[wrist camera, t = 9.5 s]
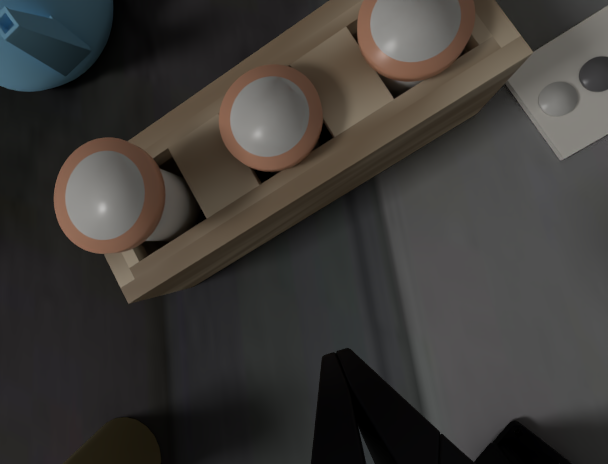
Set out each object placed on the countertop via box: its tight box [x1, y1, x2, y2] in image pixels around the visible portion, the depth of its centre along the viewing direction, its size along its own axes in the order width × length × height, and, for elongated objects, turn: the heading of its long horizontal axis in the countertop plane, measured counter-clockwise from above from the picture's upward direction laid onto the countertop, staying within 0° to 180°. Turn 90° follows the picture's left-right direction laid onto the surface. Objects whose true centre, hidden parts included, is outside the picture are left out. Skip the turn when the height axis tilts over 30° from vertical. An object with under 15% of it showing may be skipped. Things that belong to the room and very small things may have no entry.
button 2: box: [54, 138, 200, 254], centre depth 17 cm, size 5×5×5 cm
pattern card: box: [505, 6, 608, 161], centre depth 20 cm, size 7×9×1 cm
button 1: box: [357, 0, 475, 99], centre depth 17 cm, size 5×5×5 cm
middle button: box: [219, 64, 323, 175], centre depth 18 cm, size 5×5×5 cm
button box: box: [104, 0, 533, 304], centre depth 20 cm, size 8×24×7 cm, turn 121°
